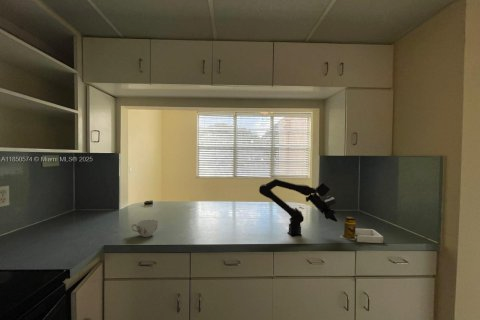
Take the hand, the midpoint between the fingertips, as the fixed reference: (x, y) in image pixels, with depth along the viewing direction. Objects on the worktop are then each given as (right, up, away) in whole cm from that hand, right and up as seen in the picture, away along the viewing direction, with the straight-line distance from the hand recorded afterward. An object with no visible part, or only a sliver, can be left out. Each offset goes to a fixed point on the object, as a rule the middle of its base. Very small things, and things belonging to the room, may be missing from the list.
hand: (336, 221), depth 152 cm
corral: (+16, -10, -2) cm, 19 cm away
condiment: (+7, -10, -1) cm, 12 cm away
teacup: (-112, -8, -3) cm, 113 cm away
